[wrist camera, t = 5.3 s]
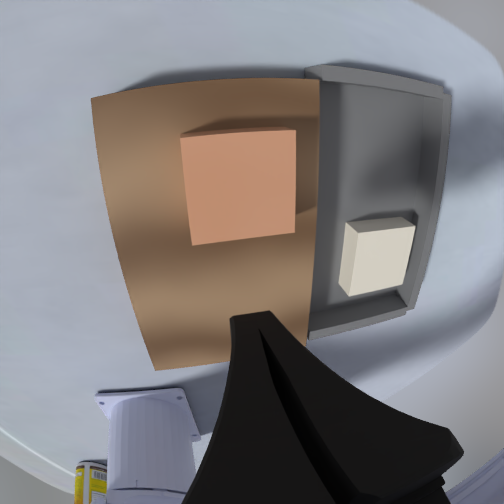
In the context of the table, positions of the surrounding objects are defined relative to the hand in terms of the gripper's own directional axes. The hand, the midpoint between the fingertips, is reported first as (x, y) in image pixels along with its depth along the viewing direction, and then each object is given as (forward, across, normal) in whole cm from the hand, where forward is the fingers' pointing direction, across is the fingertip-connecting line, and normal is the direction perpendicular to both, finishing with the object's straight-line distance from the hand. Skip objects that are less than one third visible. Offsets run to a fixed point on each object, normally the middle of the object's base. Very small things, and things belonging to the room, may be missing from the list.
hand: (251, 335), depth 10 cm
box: (+8, -9, -1) cm, 12 cm away
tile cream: (+6, -10, +2) cm, 12 cm away
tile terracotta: (+6, -1, -4) cm, 7 cm away
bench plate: (+8, 0, 0) cm, 8 cm away
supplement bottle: (+9, +20, +31) cm, 38 cm away
